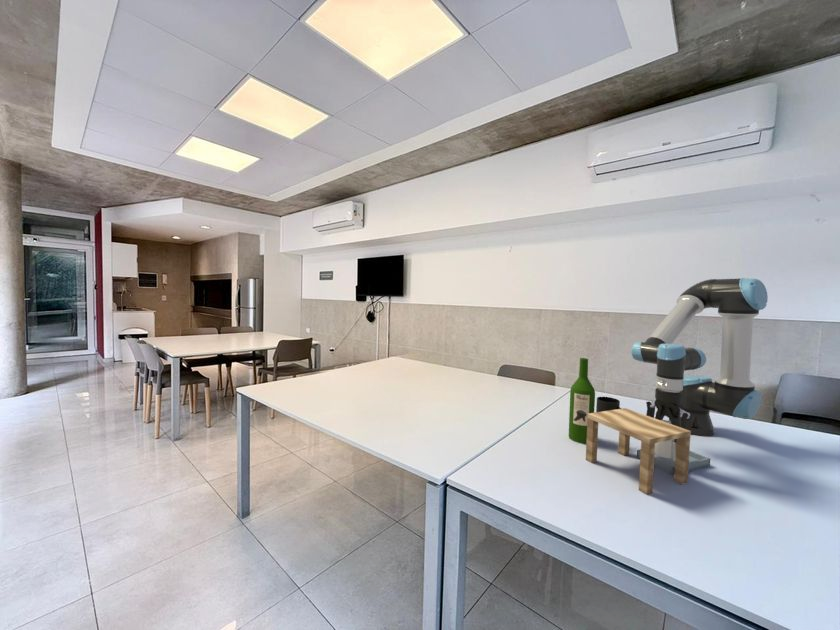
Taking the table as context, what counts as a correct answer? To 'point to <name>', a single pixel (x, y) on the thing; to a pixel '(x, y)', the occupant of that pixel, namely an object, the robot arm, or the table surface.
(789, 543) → the table surface
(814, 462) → the table surface
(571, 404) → the wine bottle
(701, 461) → the tray
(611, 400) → the mug
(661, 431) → the small wooden table
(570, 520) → the table surface
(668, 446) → the beverage can
